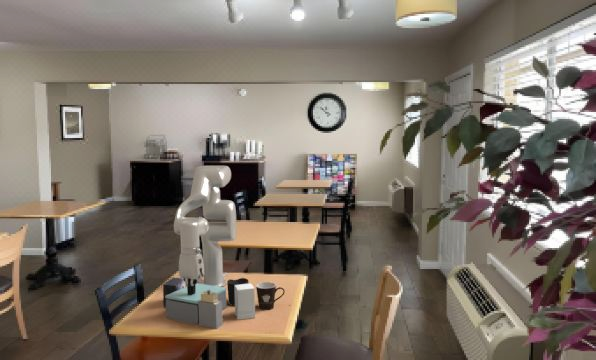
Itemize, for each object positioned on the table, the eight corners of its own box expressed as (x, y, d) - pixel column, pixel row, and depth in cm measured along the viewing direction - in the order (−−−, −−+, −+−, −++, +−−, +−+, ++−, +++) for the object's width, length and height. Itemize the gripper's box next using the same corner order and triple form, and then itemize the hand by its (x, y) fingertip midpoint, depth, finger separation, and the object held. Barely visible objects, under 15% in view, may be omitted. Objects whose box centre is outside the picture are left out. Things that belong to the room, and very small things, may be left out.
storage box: (196, 302, 222) (195, 281, 221) (243, 311, 211) (243, 289, 210) (166, 318, 204) (165, 295, 203) (216, 328, 193) (215, 304, 192)
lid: (195, 285, 221) (195, 282, 221) (226, 290, 214) (226, 287, 214) (165, 298, 203) (165, 295, 203) (197, 304, 196) (197, 301, 196)
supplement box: (255, 318, 204) (254, 288, 202) (237, 320, 202) (236, 290, 200) (252, 311, 211) (251, 282, 210) (234, 313, 209) (234, 284, 207)
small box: (176, 308, 215) (175, 285, 214) (162, 307, 217) (161, 284, 215) (186, 300, 226) (186, 277, 224) (173, 299, 227) (172, 277, 226)
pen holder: (234, 297, 228) (233, 276, 227) (252, 300, 225) (251, 278, 223) (223, 304, 219) (223, 283, 218) (242, 307, 216) (242, 285, 215)
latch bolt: (205, 298, 199) (205, 288, 198) (217, 300, 196) (217, 290, 196) (200, 300, 196) (200, 290, 196) (213, 303, 193) (213, 292, 193)
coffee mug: (253, 309, 213) (252, 287, 212) (261, 303, 221) (261, 281, 220) (277, 313, 209) (277, 290, 208) (285, 306, 217) (285, 284, 216)
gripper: (210, 250, 204) (211, 294, 205) (181, 247, 210) (183, 289, 212) (199, 254, 197) (200, 299, 199) (169, 251, 204) (171, 294, 205)
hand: (191, 294), depth 205 cm, fingers closed
